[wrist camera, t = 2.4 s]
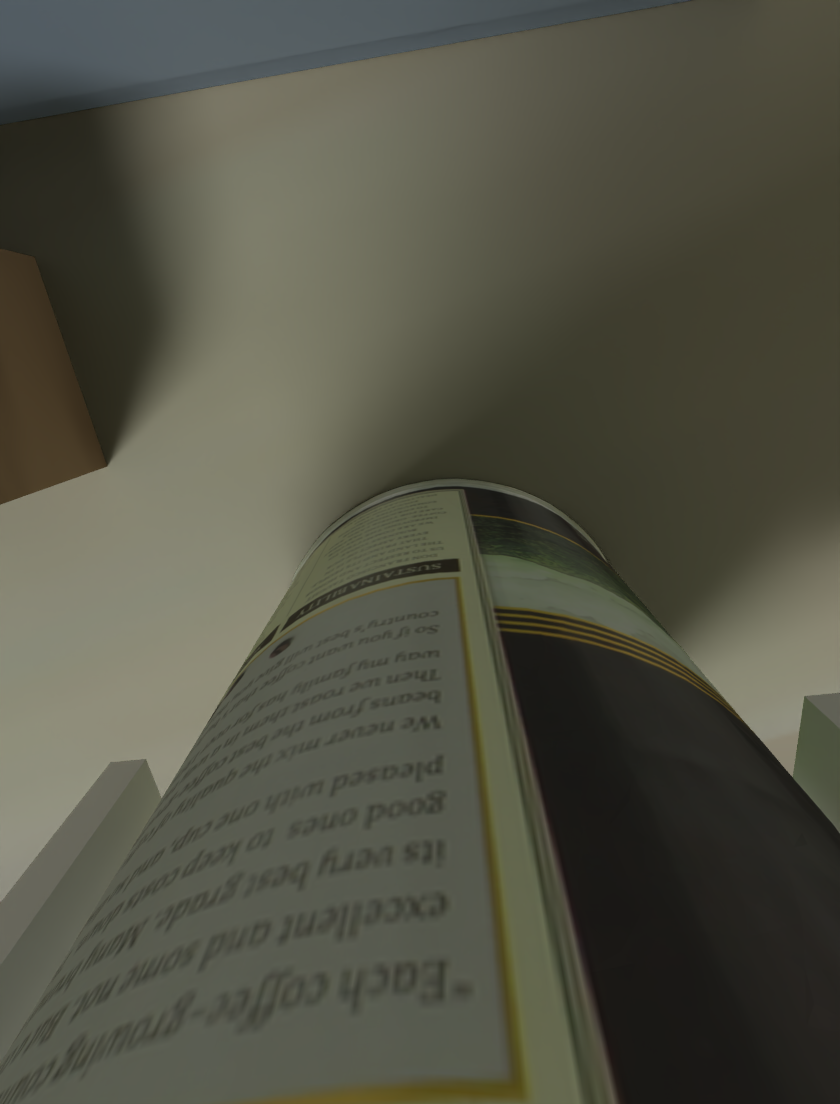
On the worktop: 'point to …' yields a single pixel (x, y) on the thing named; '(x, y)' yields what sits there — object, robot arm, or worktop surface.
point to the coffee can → (459, 855)
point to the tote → (231, 41)
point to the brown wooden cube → (38, 390)
